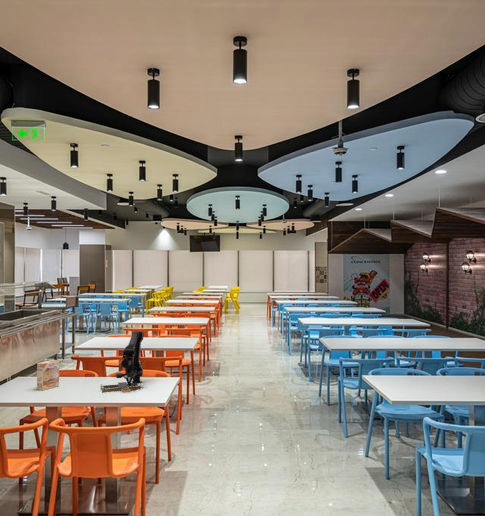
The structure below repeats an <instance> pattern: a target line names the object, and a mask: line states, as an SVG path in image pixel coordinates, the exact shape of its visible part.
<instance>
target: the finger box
mask: <svg viewBox="0 0 485 516" xmlns="http://www.w3.org/2000/svg"><path fill="white" fill-rule="evenodd" d="M127 388H129V389H130V391H134V390H141V385H139V383H132V382H131V384H130V386H128V383H127ZM100 391H101V392H102V394H103V393H110V392H111V393H112V392H122V390H121V388H118V383H116V384H108V385H107V384H104V385H103V384H100Z"/></svg>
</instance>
